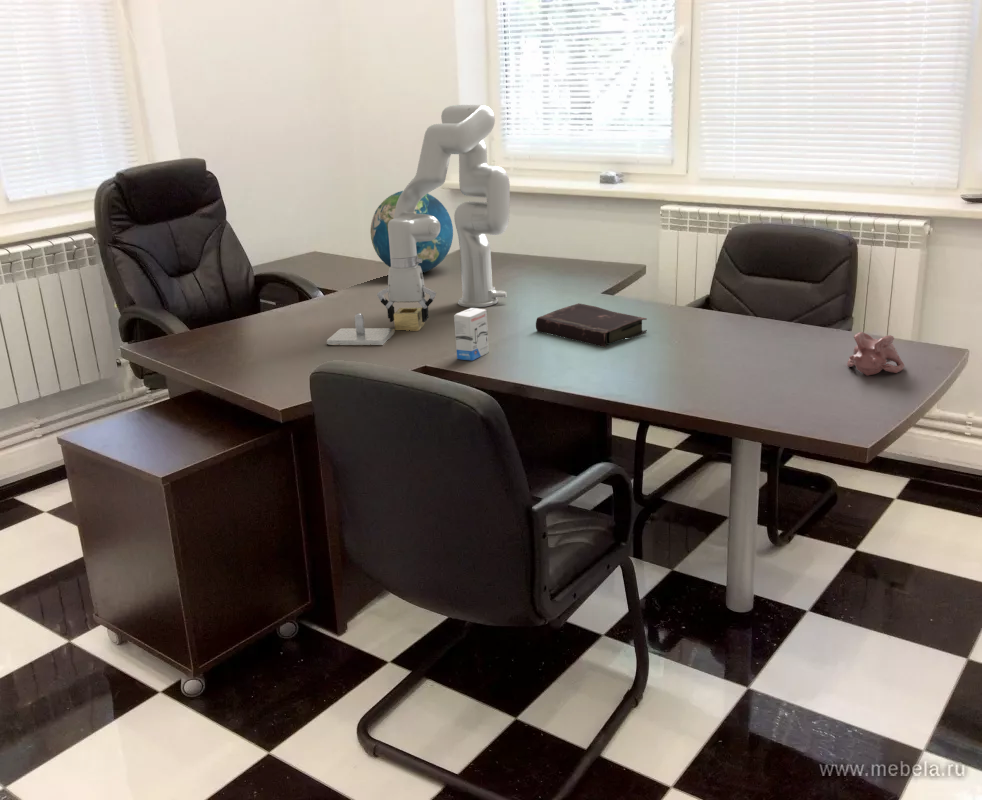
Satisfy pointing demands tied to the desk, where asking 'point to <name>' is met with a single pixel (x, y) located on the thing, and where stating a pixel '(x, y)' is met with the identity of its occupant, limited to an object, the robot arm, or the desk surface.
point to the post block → (361, 334)
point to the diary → (590, 324)
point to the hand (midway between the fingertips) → (408, 320)
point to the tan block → (408, 319)
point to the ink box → (471, 334)
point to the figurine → (874, 355)
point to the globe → (426, 250)
